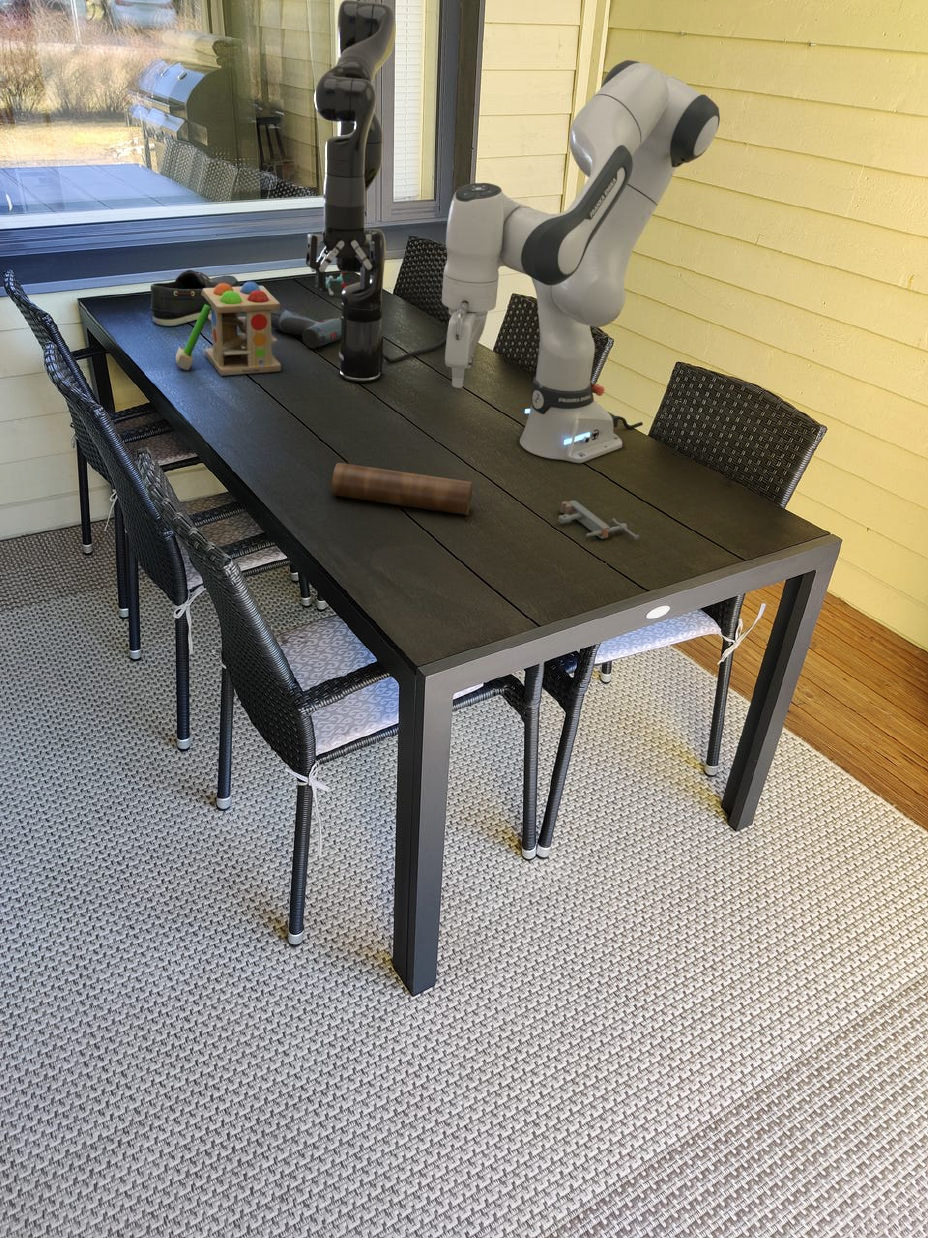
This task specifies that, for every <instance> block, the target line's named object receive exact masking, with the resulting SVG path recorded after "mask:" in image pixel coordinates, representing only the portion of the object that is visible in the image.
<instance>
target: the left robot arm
mask: <svg viewBox="0 0 928 1238" xmlns="http://www.w3.org/2000/svg"><path fill="white" fill-rule="evenodd" d="M337 14H338V15H337V53H338V59H337V62H336V65H335V66H333V67H332V68H330V69H328V71H326V72H325V73H324V74H323V75H322V76H321V77H320V78H319V80H318V81H317V82H318V83H317V85H316V87H315V90H314V106H315V109H316V111H317V113H318V114H319V116H320V117H321V118H322V119H324V120H326V121H329V122H336V123H338V128H337V129H338V131H337V135H336V136H331V137H329V138H327V140H326V142H325V149H324V150H325V155H324V156H325V162H324V163H325V164H324V166H325V167H324V168H325V171H324V172H325V175H324V181H323V194H322V195H323V196H322V197H323V231H322V234H314V233H313V232H308V233H307V234H306V247H305V248H306V249H305V264H306V266H308V267H309V268H310V270H311V269H315V270H316V271H315V287H316V286H317V287H318V288H317V287H316V288H317V289H318V290H319V291H320V292H322V293H323V292H326V291H327V288H326V277H327V272H326V270H327V268H328V266H329V265H330V264H332V263H333V261H334V260H335V264H336V268H337V269H338V271H339V272H344V273H354V274H359V281H358V282H355V283H352V284H349V285H346V286H347V287H345V288H343V289H342V290H341V307H340V308H341V310H340V311H341V312H340V314H341V315H340V318H341V338H340V351H338V357H339V358H340V369H339V376H340V377H341V378H342V380H345V381H348V382H352V383H359V384H360V383H361V384H364V383H365V384H366V383H367V384H369V383H373V382H376V381H378V380H380V378H381V375H382V374H383V364H384V362H385V361H386V362H387V363H390V364H394V363H398V362H401V361H403V360H405V359H408V358H411V357H415V356H418V355H422V354H427V353H429V352H432V351H434V350H437V349H439V348H440V347H441V346H443V345H444V344H446V341H447V334H446V335H445V336H444V338H443V339H441V340H440V341H439V342H438V343H436V344H434V345H433V346H430V347H427V348H424V349H419V350H415V351H411V352H407V353H405V354H403V355H400V356H398V357H395V358H390V357H389V356H388V355H387V354H385V352H384V335H383V334H382V323H383V292H384V291H383V288H384V273H385V272H384V271H385V264H386V263H385V262H386V251H387V250H386V249H387V247H386V244H387V243H386V237H385V234H384V232H383V231H382V230H381V229H378V228H365V217H366V215H365V214H366V193H367V192H368V190H369V188H370V187H371V186H372V185H373V183H374V181H375V180H376V178H377V177H378V175H379V173H380V170H381V168H382V166H383V165H382V164H383V144H384V132H383V126H382V124H381V121H380V119H379V117H378V115H377V113H376V112H375V111H376V106H377V99H378V98H377V92H376V89H375V87H374V85H373V83H374V81H375V77H376V74H377V73H378V71H379V70H380V69H381V67H383V65H384V64H385V63H386V61H387V60H388V59H389V57H390V56H391V54H392V53H393V50H394V46H395V41H396V32H397V31H396V29H397V27H396V26H397V23H396V15H395V11H394V9H392V7H391V6H390V5H388V4H386V3H382V2H375V1H363V0H342V1H341V3H340V5H339V8H338V13H337ZM321 243H323V245H324V246H325V247H324V248H323V250H322V251H321V253H320V256H319V257H317V256H318V248H319V247H320V245H321ZM317 258H318V259H317Z"/></svg>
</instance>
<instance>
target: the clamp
mask: <svg viewBox="0 0 928 1238" xmlns="http://www.w3.org/2000/svg"><path fill="white" fill-rule="evenodd" d="M559 513H561V514H562V515H559V516H558V523H560V524H563V525H564V524H568V523H571V522H572V521H575V520H576V521H578V522H579V523H580V524H582V525H583V526H584V527H585V528H587V529H588V530H590V532H588V533H586V534H585V537H586V538H587V537H595V536H597V537H598V538H599V539H602V540H603V539H607V538H609V533H613V532H617V531H618V532H626V533H627V534H628V535H630V536H631V537H632V538H633V539H634V540H635V541H638V540H639V539H640V535H639V534H635V533H634V532H632V531H631V530H630V529H628V525H627V523H625V522H624V523H620V522H618V521H617V519H616V518H612V519H611V520H610V522H611V524H614V525H616V526H613V527H611V526H609V525H608V524H607V523H606V522H604V521H603V520H602V519H601V518H599V517H598V516H597V515H595V514H594V513H592V512H591V511H590V510H589V509H588V508H586V507H585V506H583V505H582V504H581V503H580V502H578V501H577V500H573V499H572V500H569V501H567V500H565V501H562V502H561V503H560V510H559Z"/></svg>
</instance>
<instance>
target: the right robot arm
mask: <svg viewBox="0 0 928 1238" xmlns="http://www.w3.org/2000/svg"><path fill="white" fill-rule="evenodd" d="M720 121H721V116H720V108H719V106H718V105H717V104H716V103H715V102H714V101H713V100H712V98H710V97H708V96H707V95H706V94H701V93H700V92H699V91H698V90H696V89H695V88H693V87H692V86H691V85H689V84H687V83H685V82H684V81H683V80H681V79H679V78H677V77H675V76H671V75H669V74H667V73H664V72H662V71H661V70H659V69H658V68H657V67H655V66H654V65H651V64H650V63H648V62H640V61H637V60H632V59H631V60H630V59H626V60H624V61H621V62H619V63H617V64H615V65H614V66H613V67H612V68H611V69H610V70H609V71H608V73H607V75H606V76H605V78H604V79H603V82H602V85H601V87H600V89H599V90H597V91H596V93H594V94H593V96H592V97H591V98H590V99H589V100H588V101H587V102H586V103H585V105H584V106H583V107H582V108H581V109H580V110H579V111H578V113H577V114H576V116H575V117H574V119H573V120H572V123H571V125H570V128H569V134H568V136H569V137H568V139H569V140H568V142H569V148H570V153H571V154H572V157H573V159H574V161H575V163H576V165H577V166H578V168H579V170H580V171H581V172H582V173H583V174H584V175H585V176H586V177H587V178H588V179H587V180H586V181H585V183H584V185H583V186H582V188H581V189H580V191H579V192H578V194H577V195H576V197H574V199H573V201H572V202H571V204H570V206H569V207H568V208H567V209H566V210H564V211H562V212H558V213H548V212H546V211H541V210H538V209H535V208H533V207H530V206H526V205H524V204H521V203H519V202H517V201H515V200H513V199H511V198H510V197H508V196H507V195H506V194H505V193H504V192H503V189H502V188H501V187H500V186H499V185H497V184H493V183H490V182H473V183H468V184H465V185H462V186H460V187H459V188H458V189H456V191H455V192H454V194H453V196H452V199H451V202H450V205H449V209H448V210H449V211H448V215H447V216H448V217H447V224H446V233H445V249H446V262H445V265H444V268H443V273H442V274H443V276H442V291H441V303H442V305H443V306H445V307H446V308H448V314H449V316H451V317H450V318H449V321H448V325H447V326H448V327H447V331H446V335H447V341H446V342H445V351H444V353H445V354H444V364H445V367H447V368H451V377H452V379H451V385H452V387H453V388H457V389H461V388H463V386H464V384H465V376H466V375H465V371H466V369H467V370H468V369H471V368H472V366H473V364H474V354H475V350H476V348H477V346H478V344H479V341H480V340H481V337H482V335H483V332H484V330H485V326H486V324H487V323H486V322H487V318H488V312H490V311H492V310H494V309H495V308H496V306H497V297H498V287H499V277H500V274H499V269H500V268H501V267H506V268H508V269H510V270H513V271H516V272H518V273H521V274H524V275H526V276H528V277H530V278H531V282H532V285H533V287H534V290H535V295H536V303H537V315H538V327H539V347H538V356H537V364H536V372H535V373H536V374H535V376H534V377H533V381H532V386H531V393H530V395H531V396H530V397H531V399H530V400H531V401H530V402H531V405H530V407H529V408H526V409H524V414H528V416H527V419H526V422H525V426H524V428H523V432H522V434H521V436H520V438H519V444H520V446H521V447H522V448H523V449H524V450H525V451H527V452H528V453H531V454H532V455H536V456H539V457H542V458H546V459H551V460H560V461H561V460H562V461H567V462H570V463H575V464H582V463H586V462H587V461H590V460H593V459H595V458H598V457H601V456H603V455H606V454H608V453H612V452H614V451H617V450H618V449H621V448H622V447H623V441H622V439H621V438H620V437H619V436H618V434H616V433H615V432H614V429H615V428H617V427H618V423H619V421H621V422H622V424H623V426H624V428H625V429H627V430H633V429H636V428H638V427H639V428H640V427H642V426H643V424H644V422H642V421H640V422H636V423H634V424H631V425H630V424H628V422H627V420H626V418H625V417H623V416H620V415H615V414H613V413H611V412H609V411H608V410H606V409H605V408H604V407H603V406H602V405H601V404H600V403H598V402H597V400H596V399H595V398H594V394H595V395H596V396H597V397H602V396H603V395H604V393H605V387H604V386H602V385H600V384H599V383H594V384H593V382H592V381H591V378H592V377H591V376H592V371H593V364H594V359H595V358H594V357H595V352H596V345H595V340H594V338H593V335H592V332H591V327H594V328H603V327H606V326H608V325H610V324H612V323H613V322H614V321H615V320H616V319H618V317H619V316H620V315H621V313H622V311H623V309H624V308H625V307H624V306H625V303H626V290H625V289H626V288H625V279H626V274H627V270H628V267H629V263H630V260H631V257H632V254H633V251H634V249H635V246H636V244H637V242H638V240H639V239H640V237H641V235H642V233H643V231H644V230H645V228H646V226H647V224H648V223H649V221H650V219H651V218H652V216H653V214H654V212H655V211H656V209H657V208H658V206H659V204H660V202H661V200H662V199H663V197H664V195H665V194H666V191H667V189H668V187H669V185H670V183H671V181H672V178H673V176H674V174H675V171H676V168H679V167H681V166H683V164H689V163H690V162H693V161H694V160H696V159H698V158H700V157H701V156H702V155H703V154H705V152H706V151H707V150H708V149H709V147H710V145H711V144H712V142H713V141H714V138H715V137H716V134H717V133H718V132H717V131H718V129H719V126H720ZM631 428H632V429H631Z"/></svg>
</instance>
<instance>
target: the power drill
mask: <svg viewBox="0 0 928 1238" xmlns="http://www.w3.org/2000/svg"><path fill="white" fill-rule="evenodd" d="M271 328H274V329H276V330H278V331H281V332H284V333H288V334H290V335H296V336H300V337H302V341H303V343H304V344H305V346H306V347H308V348H309V349H316V348H319V347H322V346H325V345H328V344H330V343H333V342H336V341H338V340H341V317H338V318H331V319H324V320H322V321H320V322H319V321H316V320H314V319H312V318H309V317H306V316H304V315H302V314H300V313H297V312H293V311H291V310H288V309H283V308H280V310H271Z"/></svg>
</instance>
